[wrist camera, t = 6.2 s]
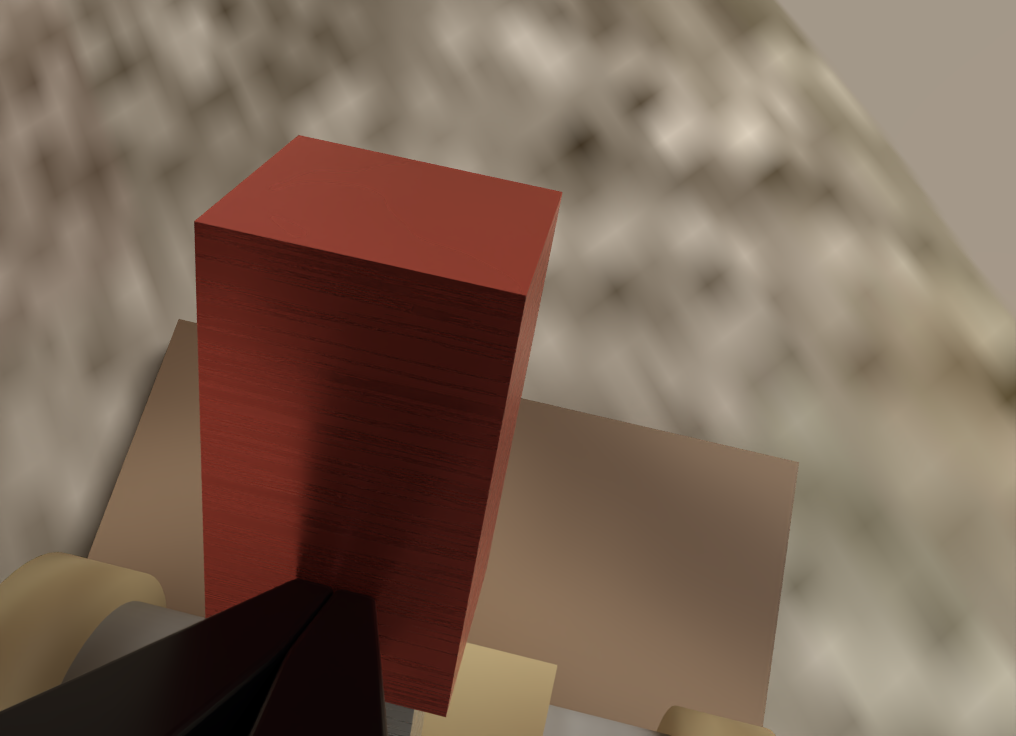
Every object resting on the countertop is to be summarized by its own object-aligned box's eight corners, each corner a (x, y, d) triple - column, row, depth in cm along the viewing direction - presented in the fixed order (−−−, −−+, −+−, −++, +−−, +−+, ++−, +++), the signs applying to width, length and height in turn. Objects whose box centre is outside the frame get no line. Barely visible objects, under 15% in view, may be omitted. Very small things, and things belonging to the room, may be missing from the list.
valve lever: (409, 948, 12) (538, 298, 7) (206, 894, 12) (181, 218, 7) (447, 798, 14) (572, 194, 9) (270, 752, 14) (287, 133, 9)
